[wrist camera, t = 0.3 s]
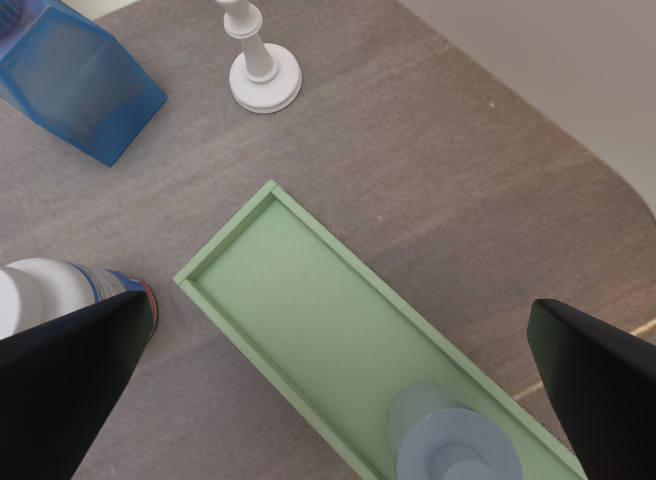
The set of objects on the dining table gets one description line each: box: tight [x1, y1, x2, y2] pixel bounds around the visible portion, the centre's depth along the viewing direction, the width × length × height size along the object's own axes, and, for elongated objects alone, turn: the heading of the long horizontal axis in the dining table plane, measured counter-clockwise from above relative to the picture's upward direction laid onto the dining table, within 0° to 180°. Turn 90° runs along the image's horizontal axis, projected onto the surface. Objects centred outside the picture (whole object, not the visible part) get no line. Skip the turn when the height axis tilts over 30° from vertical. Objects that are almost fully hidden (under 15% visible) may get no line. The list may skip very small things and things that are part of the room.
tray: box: [172, 179, 588, 480], centre depth 21 cm, size 32×8×2 cm, turn 47°
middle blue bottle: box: [385, 382, 523, 480], centre depth 17 cm, size 5×5×8 cm
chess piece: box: [215, 0, 302, 114], centre depth 22 cm, size 5×5×10 cm
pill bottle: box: [0, 258, 157, 340], centre depth 20 cm, size 6×5×10 cm
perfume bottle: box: [0, 0, 167, 167], centre depth 22 cm, size 6×6×12 cm
